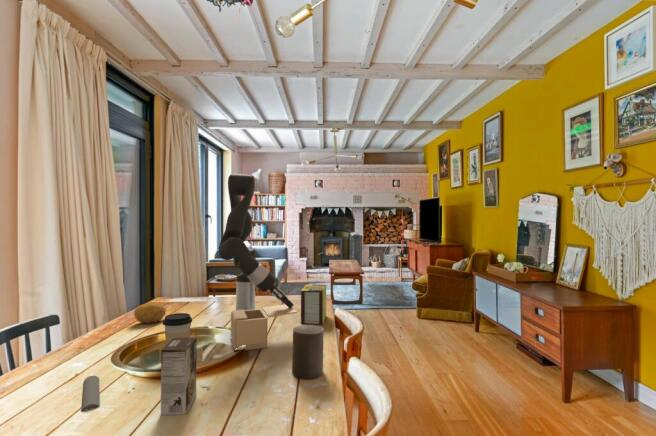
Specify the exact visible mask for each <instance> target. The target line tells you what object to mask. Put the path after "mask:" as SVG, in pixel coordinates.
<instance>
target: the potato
mask: <svg viewBox="0 0 656 436" xmlns="http://www.w3.org/2000/svg"><path fill="white" fill-rule="evenodd" d="M166 312H167V310H166V308H165V307H164V305H163V304H162V303H158V302H156V301H148V302H146V303H143V304H140V305H138V306H137V307H136V309H135V310H134V312H133V314H134V318H135V320H136V321H137V322H139V323H142V324H152V323H153V324H154V323H156V322H157V323H158V322H160V321H161V320H163V319H164V318H165V317H166Z"/></svg>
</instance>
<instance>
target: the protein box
mask: <svg viewBox="0 0 656 436" xmlns="http://www.w3.org/2000/svg"><path fill="white" fill-rule="evenodd" d="M326 317H327V285H326V284H305V285H304V287H302V288H301V290H300V324H301V325H323V324H324V322H325V319H326Z"/></svg>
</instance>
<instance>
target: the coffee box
mask: <svg viewBox="0 0 656 436" xmlns="http://www.w3.org/2000/svg"><path fill="white" fill-rule="evenodd" d="M160 350H161V351H160V352H161V353H160V356H161V358H160V366H161V367H160V415H161V416H172V415H173V416H175V415H186V414H187V413H188V412H189V410H190V408H191V406H192V405H193V403H194V401H195V399H196V397H197V337H190V338H173V339H172V340H171V341H170V342H169V343H168V344H167V345H166V344H165V346H164V347H163V348H162V349H160Z"/></svg>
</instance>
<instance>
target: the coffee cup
mask: <svg viewBox="0 0 656 436" xmlns="http://www.w3.org/2000/svg"><path fill="white" fill-rule="evenodd" d="M192 322H193V317H191V314H189V313H188V312H187V313H185V312H177V313H170V314H168V315H165V316H164V318H163V319H162V323H161V324H162V325H163V326H164V336H165V339H164V340H165V346H166V345H167V344H168V343H169V342H170V341H171V340H172V339H173V338H191V326H192V325H191V324H192Z"/></svg>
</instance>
